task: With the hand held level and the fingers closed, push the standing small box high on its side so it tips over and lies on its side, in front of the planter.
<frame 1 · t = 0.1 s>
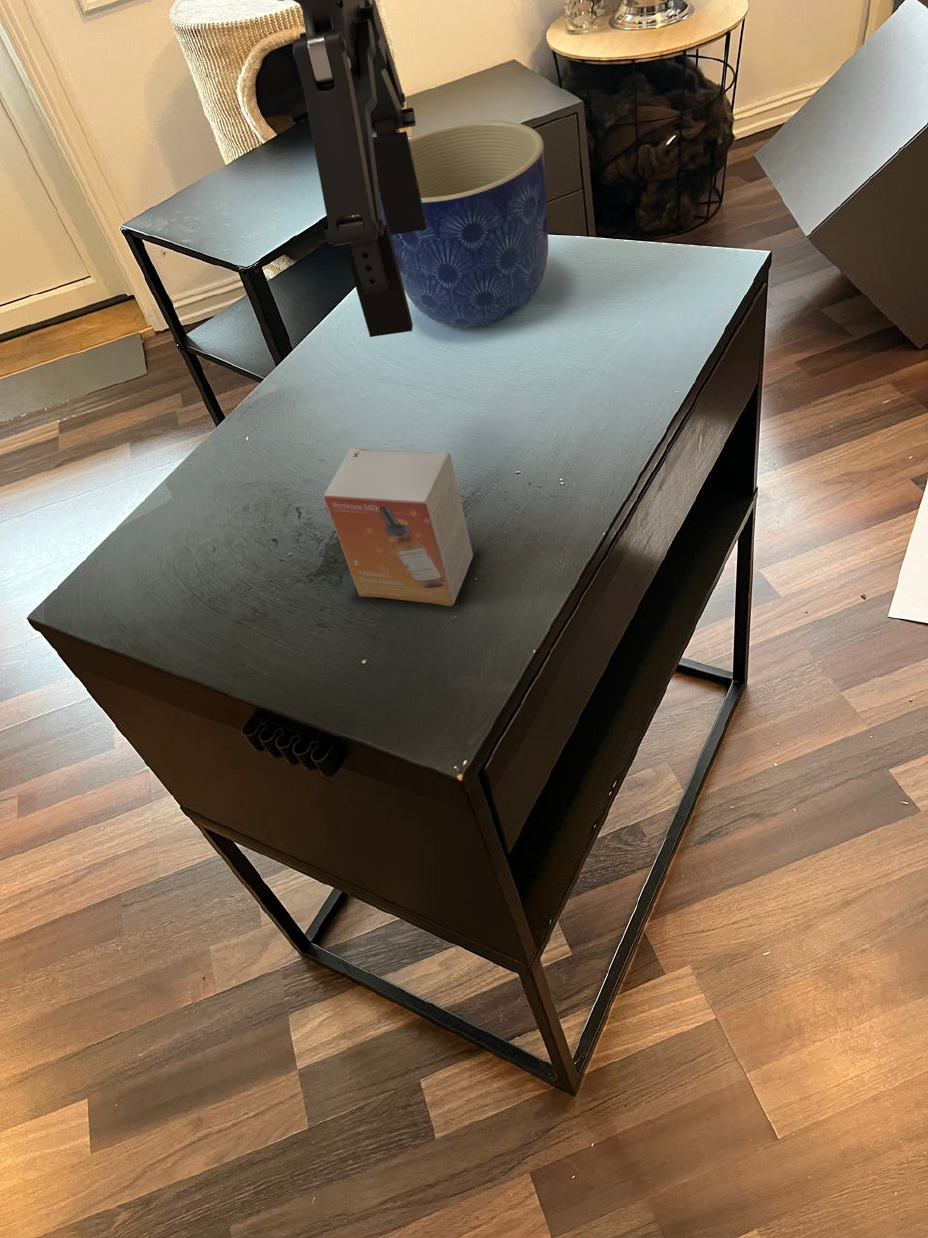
hand: (400, 277, 63), 20 cm above the table, tool pointing down, fingers open, 13 cm apart
small box: (418, 578, 73), on the table
planter: (481, 305, 99), on the table
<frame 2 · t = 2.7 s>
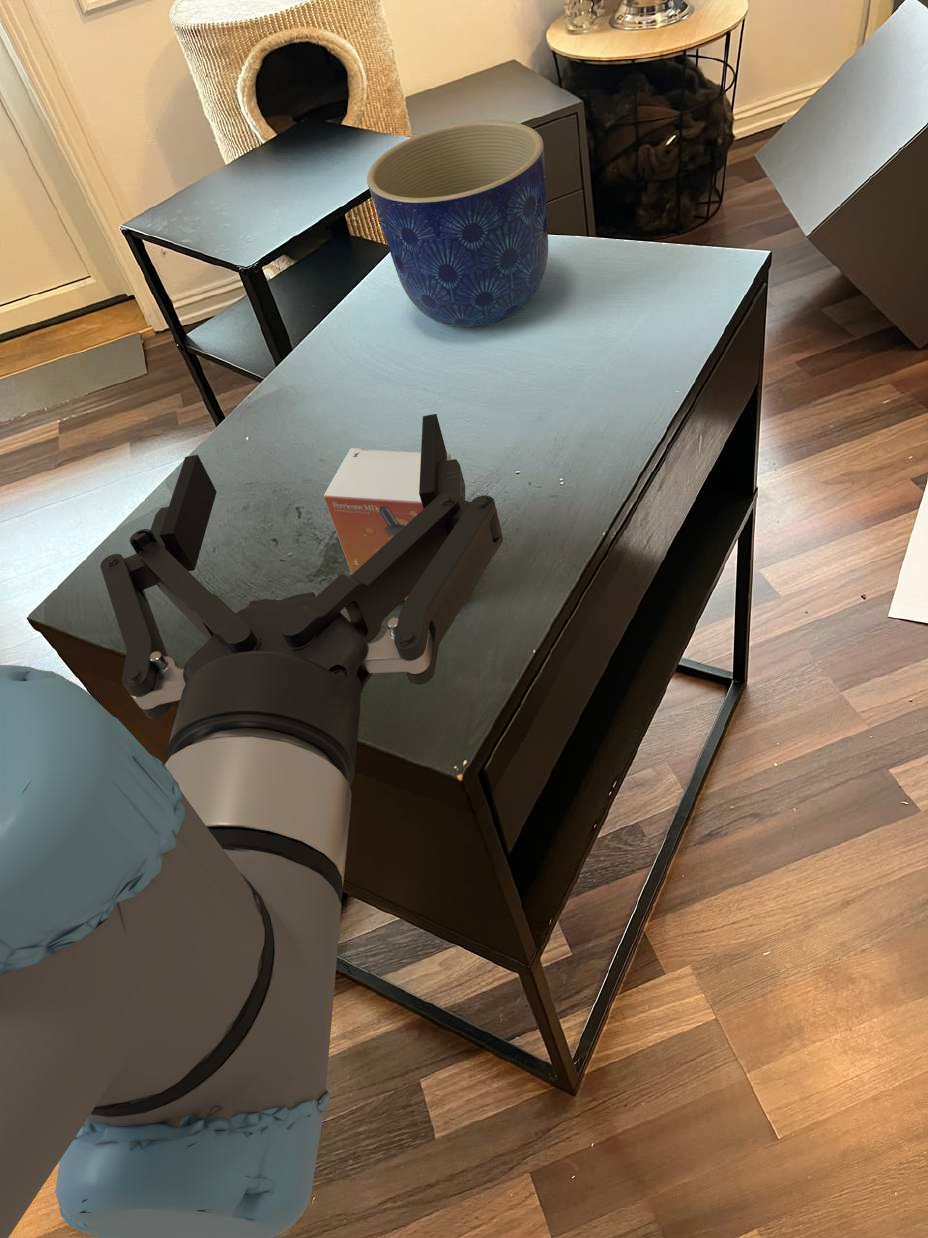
hand: (316, 454, 52), 20 cm above the table, tool horizontal, fingers open, 13 cm apart
nothing on the table moved.
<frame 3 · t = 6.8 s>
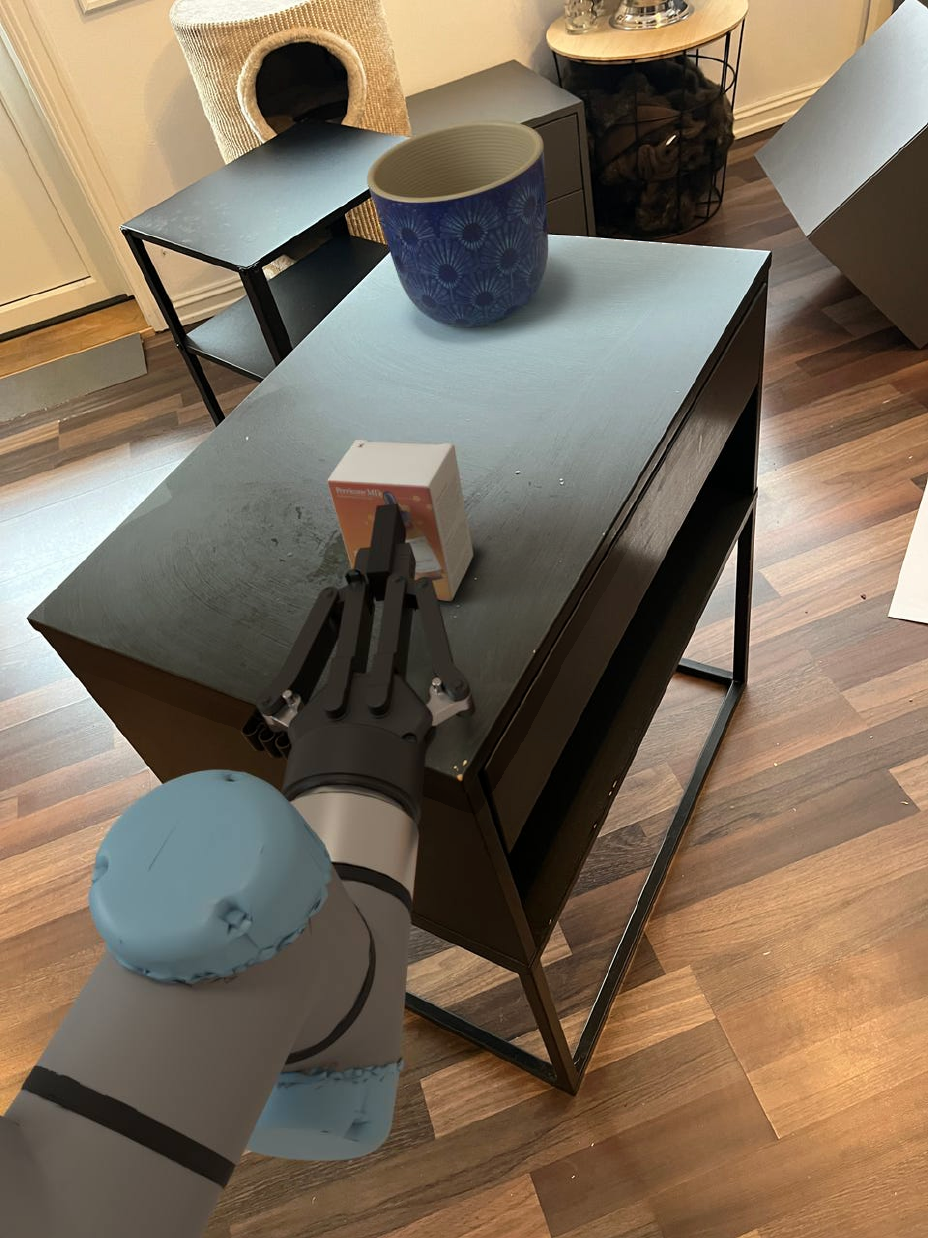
hand: (391, 519, 65), 9 cm above the table, tool horizontal, fingers closed
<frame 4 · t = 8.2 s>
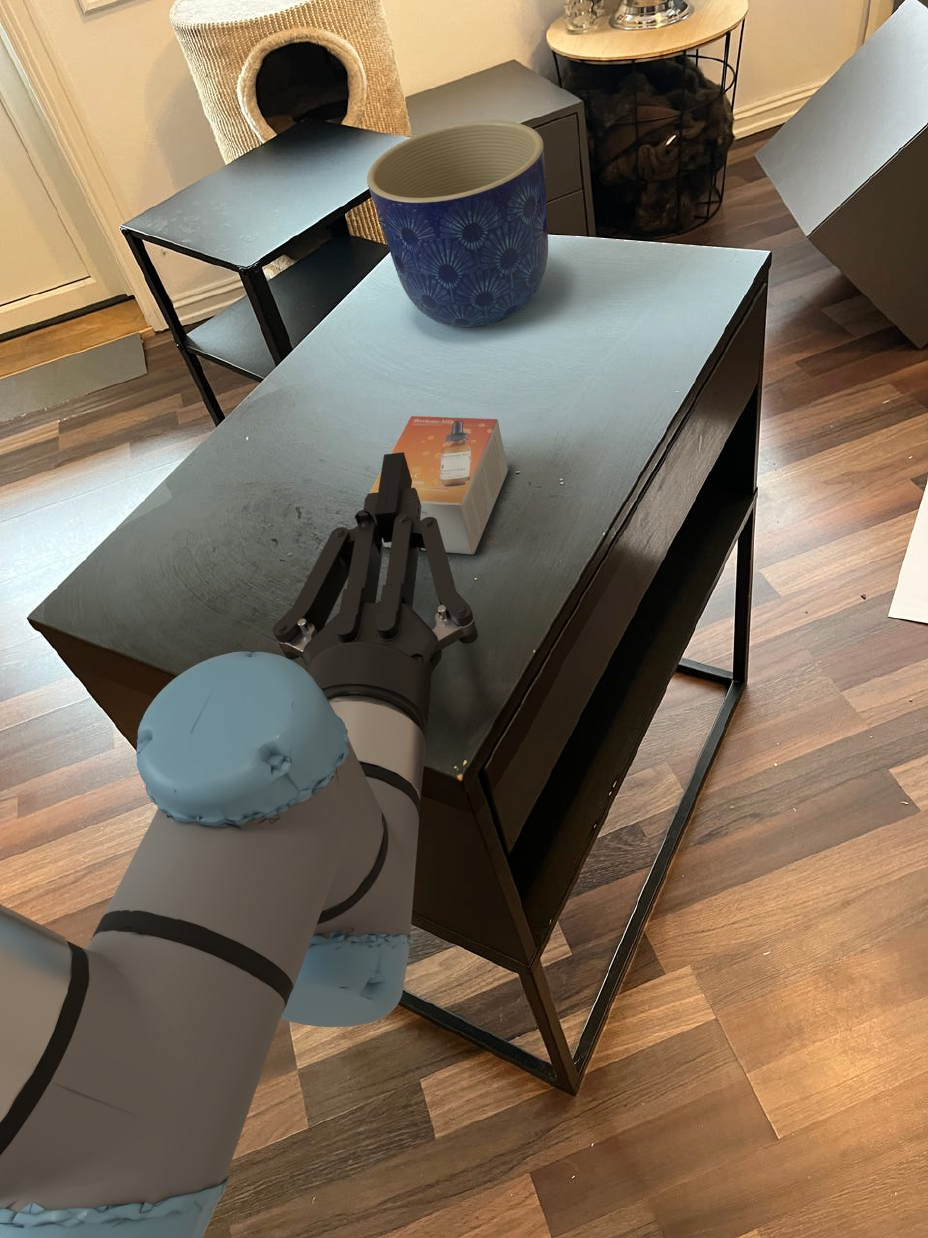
hand: (398, 467, 68), 9 cm above the table, tool horizontal, fingers closed
small box: (420, 529, 72), point 3 cm above the table
everything else where it was.
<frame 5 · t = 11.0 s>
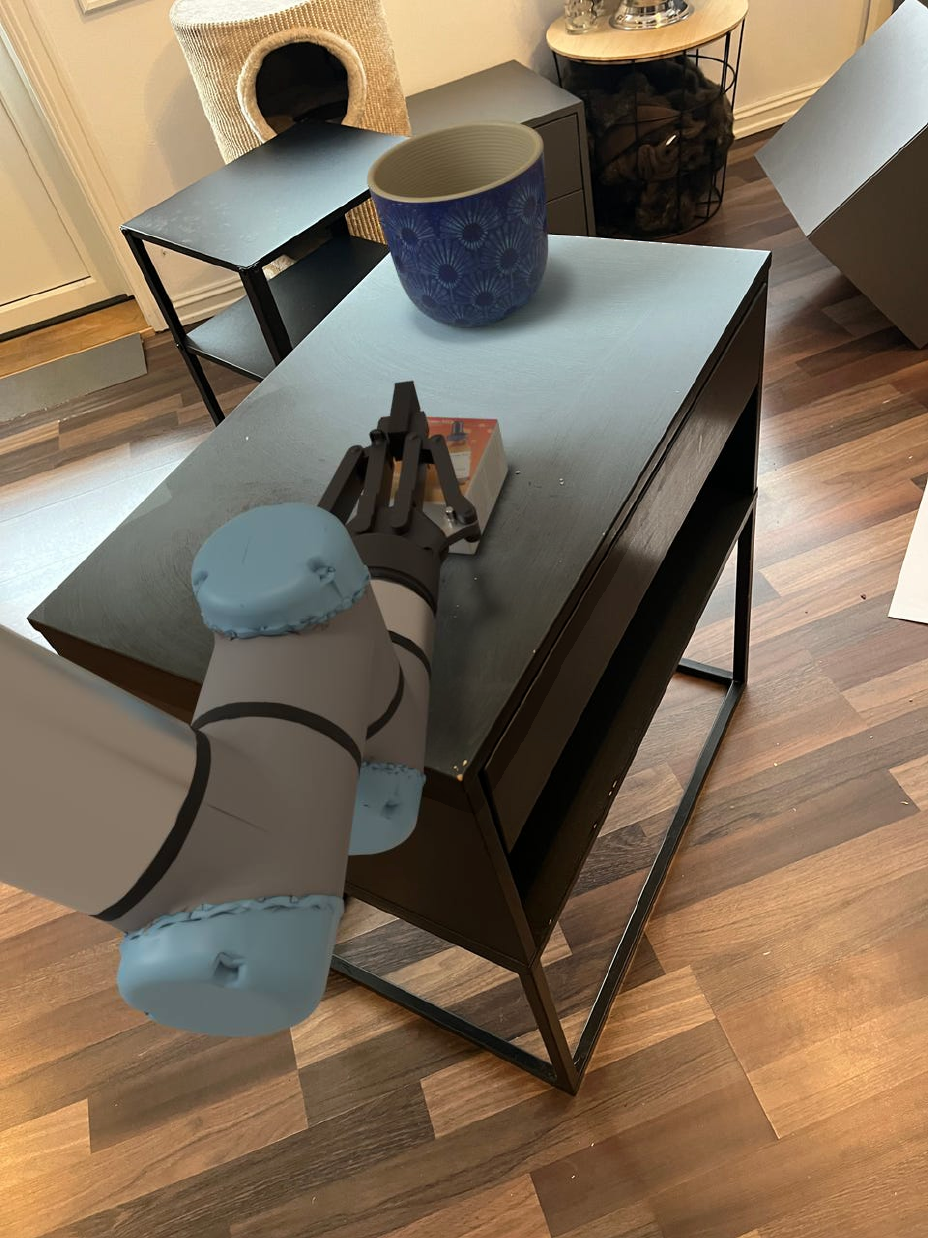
hand: (407, 396, 74), 9 cm above the table, tool horizontal, fingers closed
nothing on the table moved.
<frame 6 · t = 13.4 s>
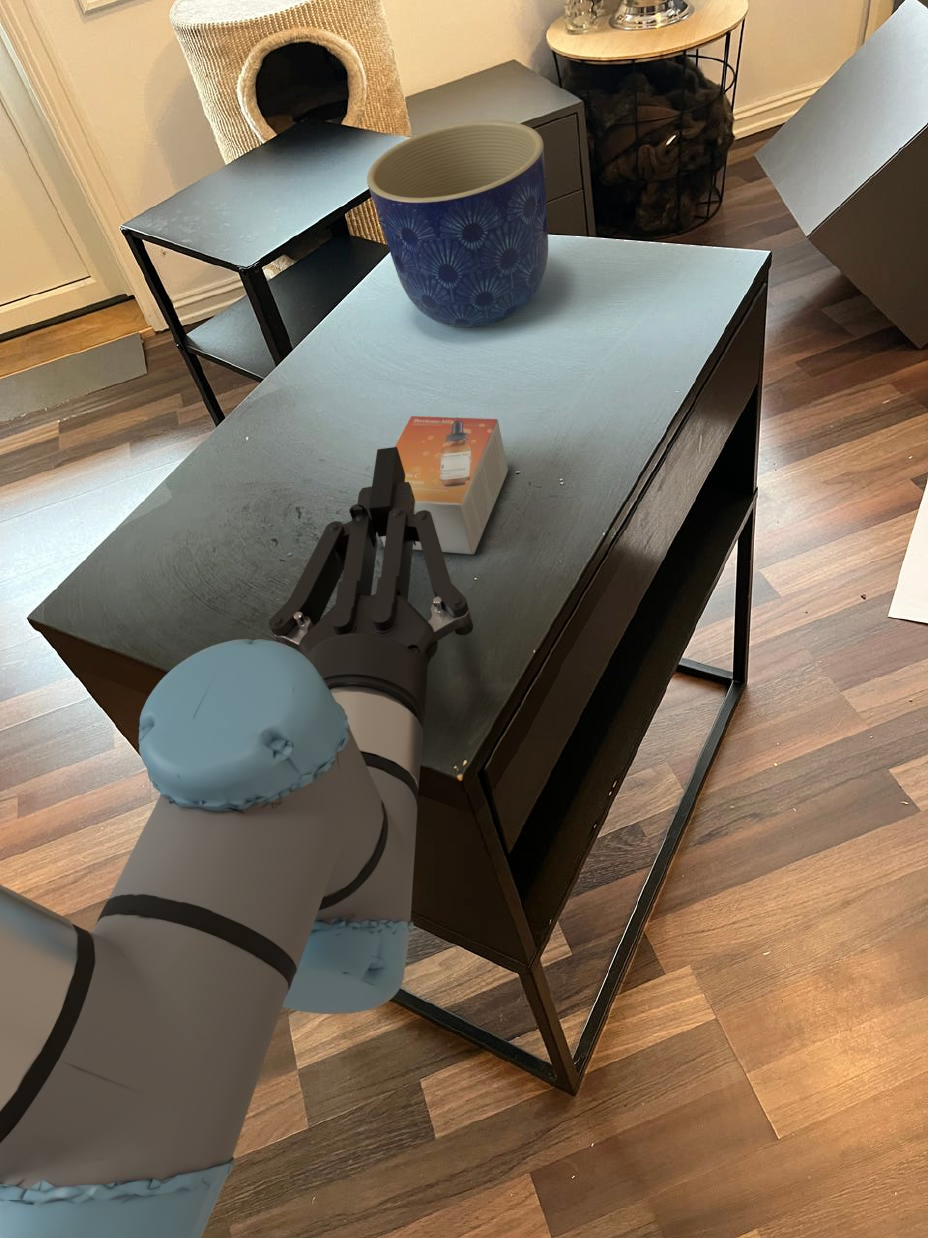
hand: (391, 462, 69), 9 cm above the table, tool horizontal, fingers closed
nothing on the table moved.
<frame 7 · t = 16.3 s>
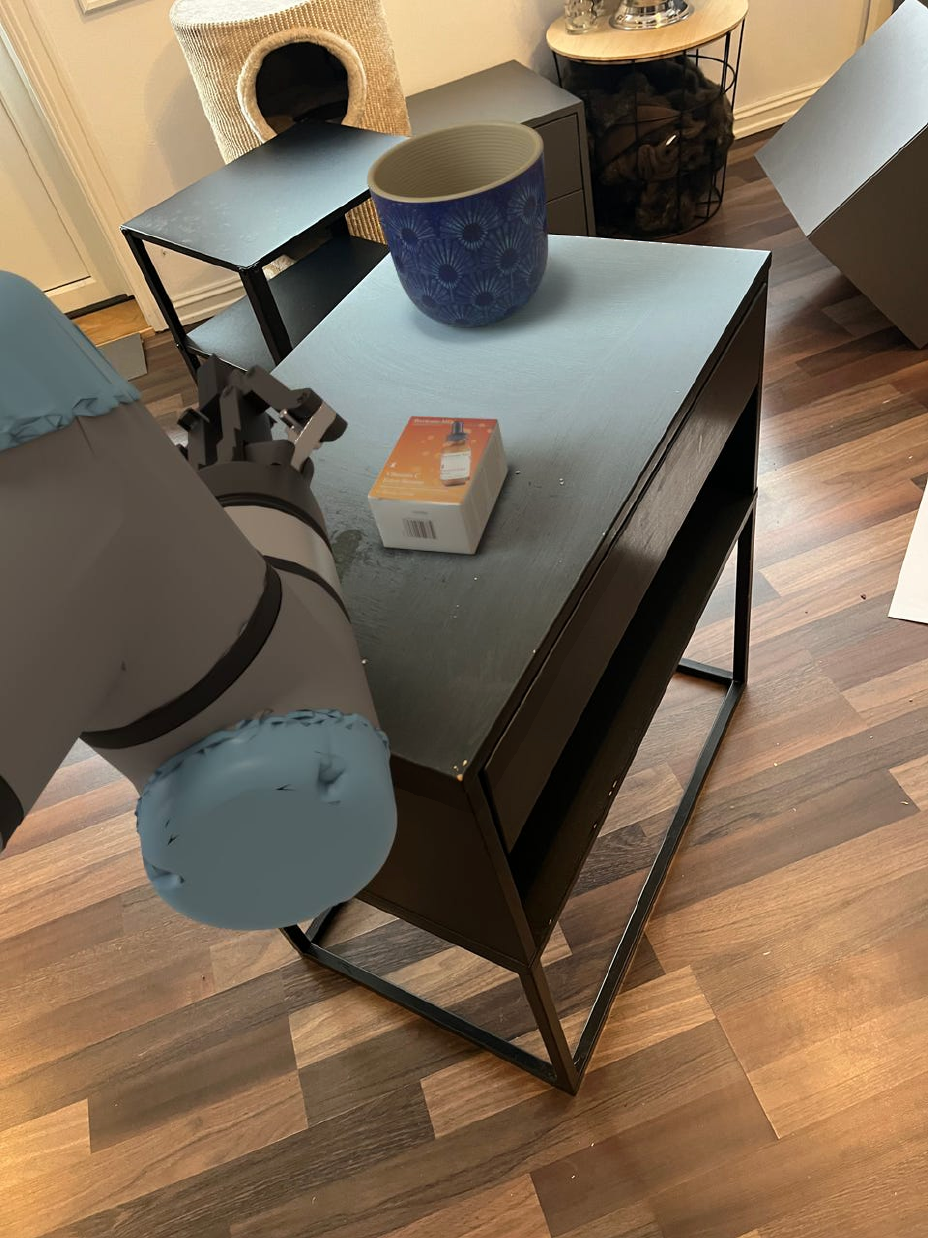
hand: (222, 376, 57), 21 cm above the table, tool horizontal, fingers closed
nothing on the table moved.
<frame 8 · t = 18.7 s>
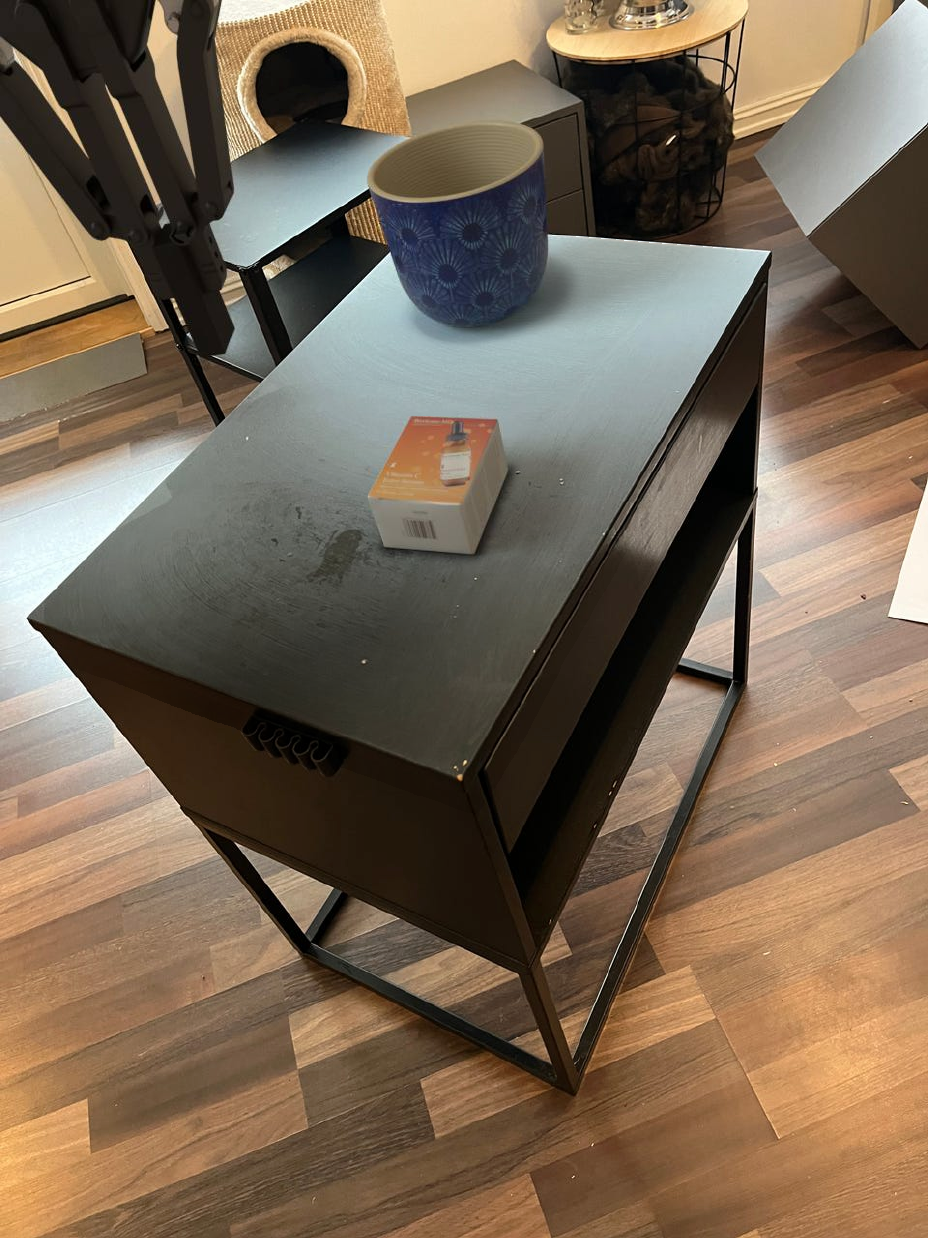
hand: (217, 342, 53), 24 cm above the table, tool pointing down, fingers closed
nothing on the table moved.
at the end: small box tilted 90°; small box 37.7 cm from the planter (horizontally); the gripper is holding nothing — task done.
